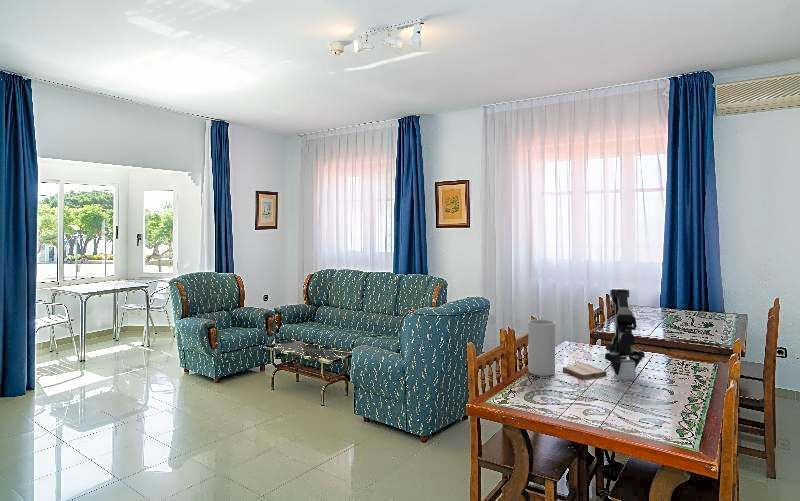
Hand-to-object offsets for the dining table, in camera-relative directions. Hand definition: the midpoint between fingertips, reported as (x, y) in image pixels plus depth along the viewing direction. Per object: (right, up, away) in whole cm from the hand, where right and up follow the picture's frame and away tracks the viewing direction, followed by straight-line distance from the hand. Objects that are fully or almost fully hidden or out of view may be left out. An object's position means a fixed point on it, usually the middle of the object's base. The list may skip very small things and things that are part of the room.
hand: (624, 373), depth 224 cm
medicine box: (0, -3, 0) cm, 3 cm away
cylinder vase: (-35, -3, +11) cm, 37 cm away
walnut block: (-15, -2, +9) cm, 18 cm away
